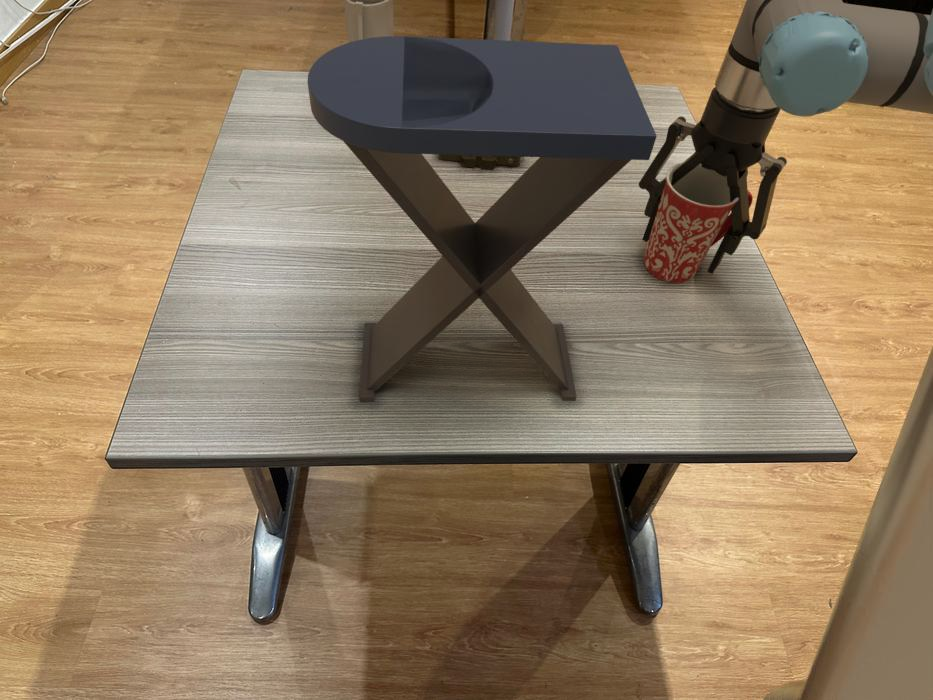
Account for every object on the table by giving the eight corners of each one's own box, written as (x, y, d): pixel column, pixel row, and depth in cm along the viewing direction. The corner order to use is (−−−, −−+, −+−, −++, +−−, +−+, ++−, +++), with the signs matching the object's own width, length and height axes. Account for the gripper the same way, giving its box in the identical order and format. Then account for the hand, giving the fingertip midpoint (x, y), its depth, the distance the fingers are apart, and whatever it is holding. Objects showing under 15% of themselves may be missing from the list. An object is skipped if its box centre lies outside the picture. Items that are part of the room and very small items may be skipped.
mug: (652, 292, 85) (687, 209, 74) (625, 246, 90) (654, 163, 80) (737, 281, 87) (782, 200, 77) (706, 238, 93) (744, 156, 82)
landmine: (433, 149, 98) (442, 100, 108) (433, 164, 100) (441, 114, 110) (525, 158, 98) (525, 107, 108) (523, 173, 100) (523, 122, 110)
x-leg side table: (559, 320, 81) (629, 45, 55) (577, 413, 72) (670, 136, 46) (349, 319, 79) (317, 32, 52) (340, 414, 70) (296, 124, 43)
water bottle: (358, 104, 110) (347, -61, 91) (403, 111, 110) (401, -53, 91) (341, 132, 104) (325, -38, 85) (388, 140, 104) (382, -30, 85)
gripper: (856, 118, 69) (766, 272, 86) (671, 50, 76) (622, 205, 93) (837, 148, 65) (746, 303, 82) (643, 73, 72) (597, 230, 89)
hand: (680, 251), depth 88 cm, fingers closed on mug, 9 cm apart
